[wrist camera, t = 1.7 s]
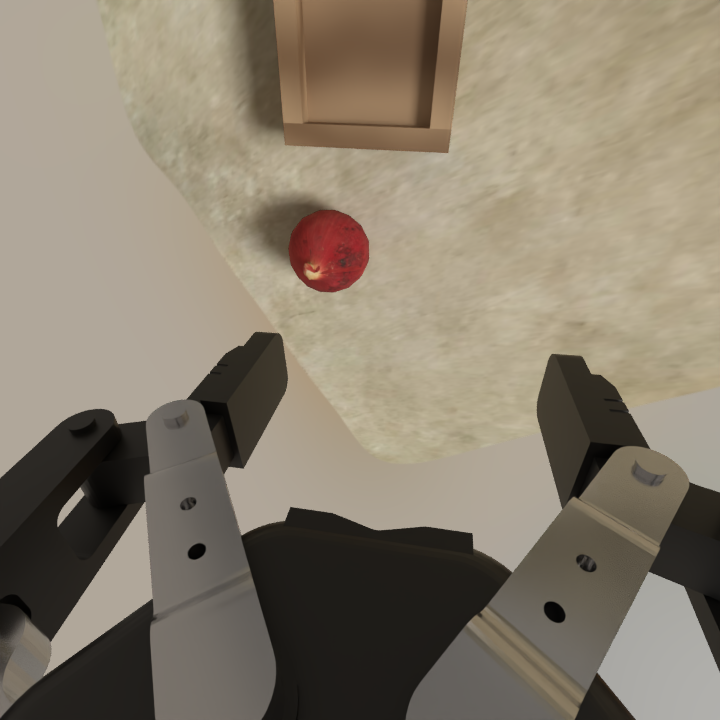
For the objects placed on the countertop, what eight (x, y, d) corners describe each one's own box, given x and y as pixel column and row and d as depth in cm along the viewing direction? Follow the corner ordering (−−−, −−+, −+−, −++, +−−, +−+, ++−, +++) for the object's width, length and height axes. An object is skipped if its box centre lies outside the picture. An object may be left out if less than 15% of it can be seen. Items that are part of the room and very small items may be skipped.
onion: (375, 198, 31) (352, 230, 24) (377, 270, 34) (358, 316, 28) (301, 199, 32) (262, 230, 25) (311, 268, 35) (278, 312, 29)
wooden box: (299, -61, 24) (266, -89, 20) (476, -67, 22) (480, -99, 18) (309, 134, 29) (284, 145, 25) (449, 140, 28) (448, 152, 24)
